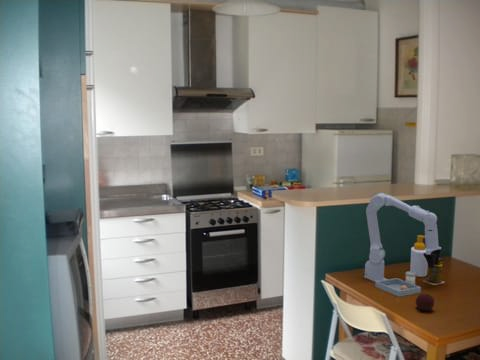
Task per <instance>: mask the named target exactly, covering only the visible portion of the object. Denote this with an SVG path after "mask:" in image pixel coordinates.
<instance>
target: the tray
mask: <svg viewBox="0 0 480 360" xmlns="http://www.w3.org/2000/svg"><path fill="white" fill-rule="evenodd" d="M374 283H375V285H374V287H375V288H377V289H379V290H381V291H384V292H386V293H388V294H390V295H393V296H396V297H399V298H400V297H404V296H410V295H415V294H420V293H421V292H422V287H421V286H419V285H416V284H415V285H414V284H411V283H409V282H406V280H403V279H400V278H397V277H395V278H390V279H389V278H388V280H383V281H377V282H375V281H374ZM403 285H405V286H407V288H408V289H405V290H401V289H400V288H401V286H403ZM421 294H422V293H421Z"/></svg>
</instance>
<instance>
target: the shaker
mask: <svg viewBox="0 0 480 360" xmlns="http://www.w3.org/2000/svg"><path fill="white" fill-rule="evenodd" d="M416 277H417V276H416V273H415V272H412V271H410V270H408V271H406V272H405V281H406V282H409V283H411V284H414V285H416Z"/></svg>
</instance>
